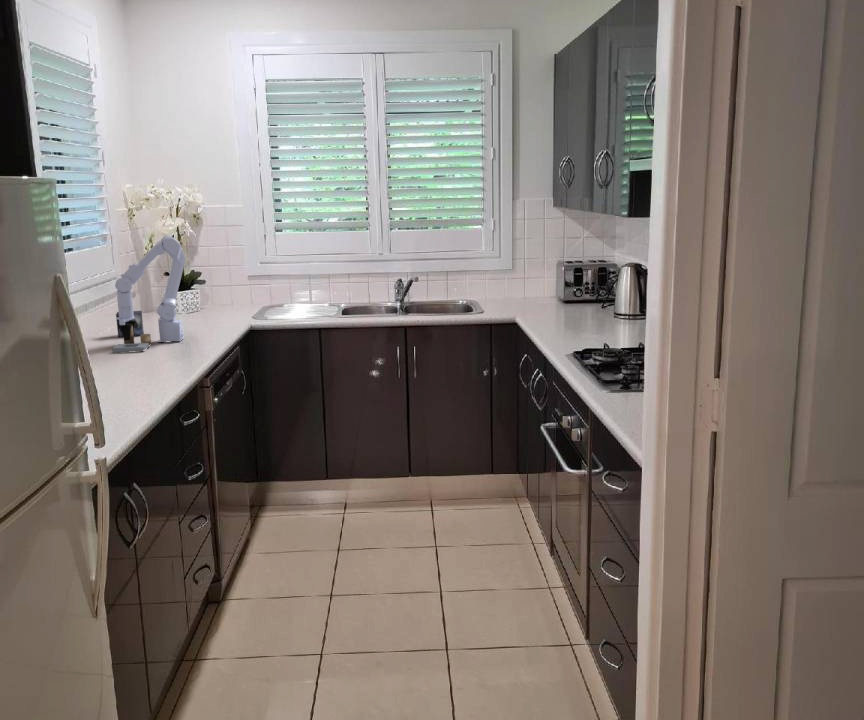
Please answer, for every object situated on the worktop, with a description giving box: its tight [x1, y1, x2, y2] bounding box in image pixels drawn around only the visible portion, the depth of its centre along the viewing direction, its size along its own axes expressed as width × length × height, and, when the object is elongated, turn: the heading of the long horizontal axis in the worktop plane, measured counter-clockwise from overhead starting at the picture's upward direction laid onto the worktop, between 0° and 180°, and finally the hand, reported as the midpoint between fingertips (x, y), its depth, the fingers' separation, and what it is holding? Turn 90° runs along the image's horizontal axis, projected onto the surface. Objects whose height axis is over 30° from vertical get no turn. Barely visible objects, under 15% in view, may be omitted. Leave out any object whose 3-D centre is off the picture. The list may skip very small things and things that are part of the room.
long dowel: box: [123, 326, 135, 344], centre depth 340 cm, size 4×4×8 cm
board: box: [112, 342, 150, 354], centre depth 329 cm, size 12×8×2 cm, turn 95°
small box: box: [115, 310, 145, 338], centre depth 360 cm, size 11×6×10 cm, turn 105°
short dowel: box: [139, 333, 152, 345], centre depth 339 cm, size 4×4×4 cm
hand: (128, 339), depth 340 cm, fingers closed on long dowel, 4 cm apart
